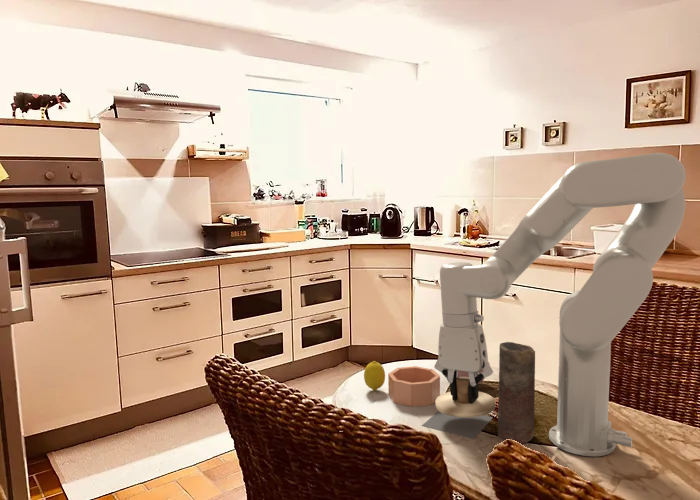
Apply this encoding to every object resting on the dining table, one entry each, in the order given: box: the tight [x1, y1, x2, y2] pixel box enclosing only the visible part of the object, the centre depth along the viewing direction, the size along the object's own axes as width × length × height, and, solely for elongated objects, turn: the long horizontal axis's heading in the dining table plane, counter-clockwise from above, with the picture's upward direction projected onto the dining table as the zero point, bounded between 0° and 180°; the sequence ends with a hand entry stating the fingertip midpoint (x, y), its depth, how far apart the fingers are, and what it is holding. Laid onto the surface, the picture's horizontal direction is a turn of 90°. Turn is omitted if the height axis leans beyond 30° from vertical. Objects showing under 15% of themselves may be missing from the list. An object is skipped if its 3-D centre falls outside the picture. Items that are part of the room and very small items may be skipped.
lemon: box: [363, 360, 386, 392], centre depth 139 cm, size 6×6×8 cm
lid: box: [434, 377, 496, 418], centre depth 118 cm, size 13×13×6 cm
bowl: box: [387, 365, 441, 408], centre depth 134 cm, size 12×12×6 cm
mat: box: [421, 410, 494, 440], centre depth 119 cm, size 12×12×1 cm
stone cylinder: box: [497, 341, 536, 444], centre depth 111 cm, size 8×7×20 cm
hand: (464, 399), depth 118 cm, fingers closed on lid, 3 cm apart
